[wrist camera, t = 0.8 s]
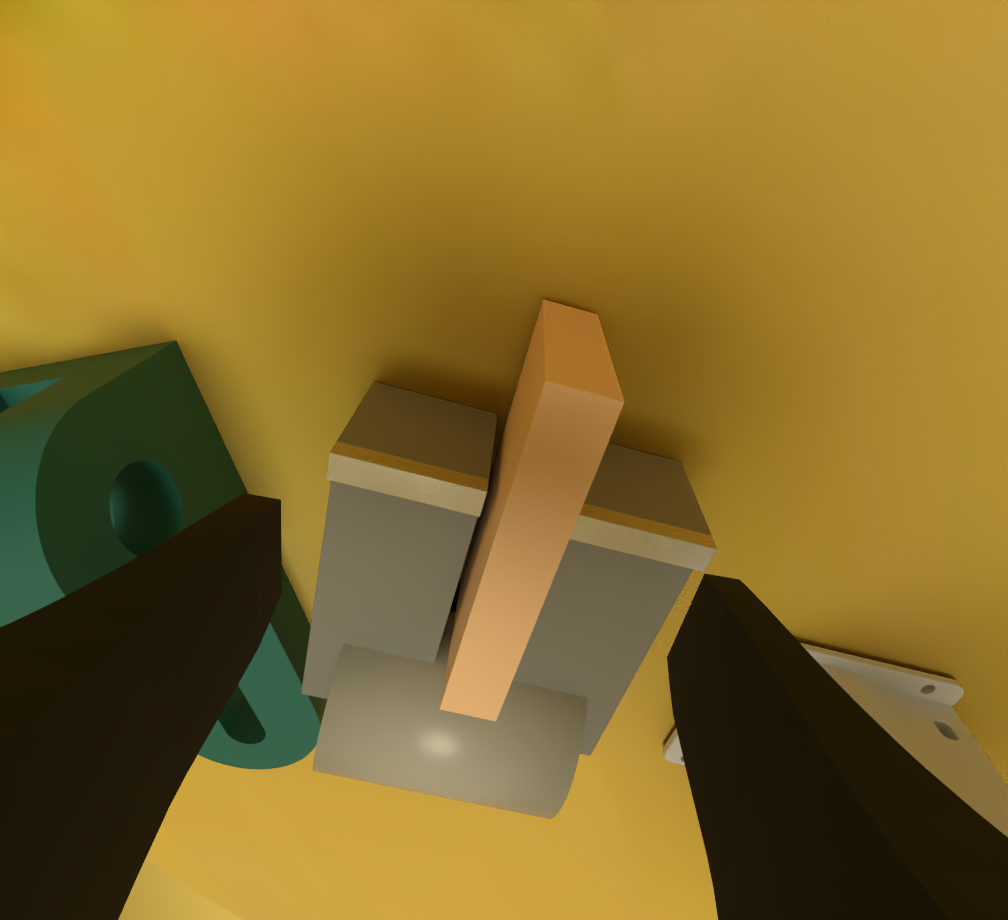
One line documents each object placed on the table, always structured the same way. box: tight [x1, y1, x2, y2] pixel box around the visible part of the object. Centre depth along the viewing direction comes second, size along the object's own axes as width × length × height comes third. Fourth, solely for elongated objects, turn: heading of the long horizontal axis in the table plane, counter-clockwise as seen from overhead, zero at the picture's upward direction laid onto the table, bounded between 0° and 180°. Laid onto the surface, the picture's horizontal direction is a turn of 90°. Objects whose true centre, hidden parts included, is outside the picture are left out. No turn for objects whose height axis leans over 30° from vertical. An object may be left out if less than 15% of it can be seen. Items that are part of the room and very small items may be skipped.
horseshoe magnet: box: [301, 382, 717, 819], centre depth 20 cm, size 13×10×6 cm
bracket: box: [0, 341, 327, 769], centre depth 20 cm, size 18×7×8 cm, turn 11°
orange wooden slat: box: [440, 299, 624, 721], centre depth 17 cm, size 10×2×6 cm, turn 165°
